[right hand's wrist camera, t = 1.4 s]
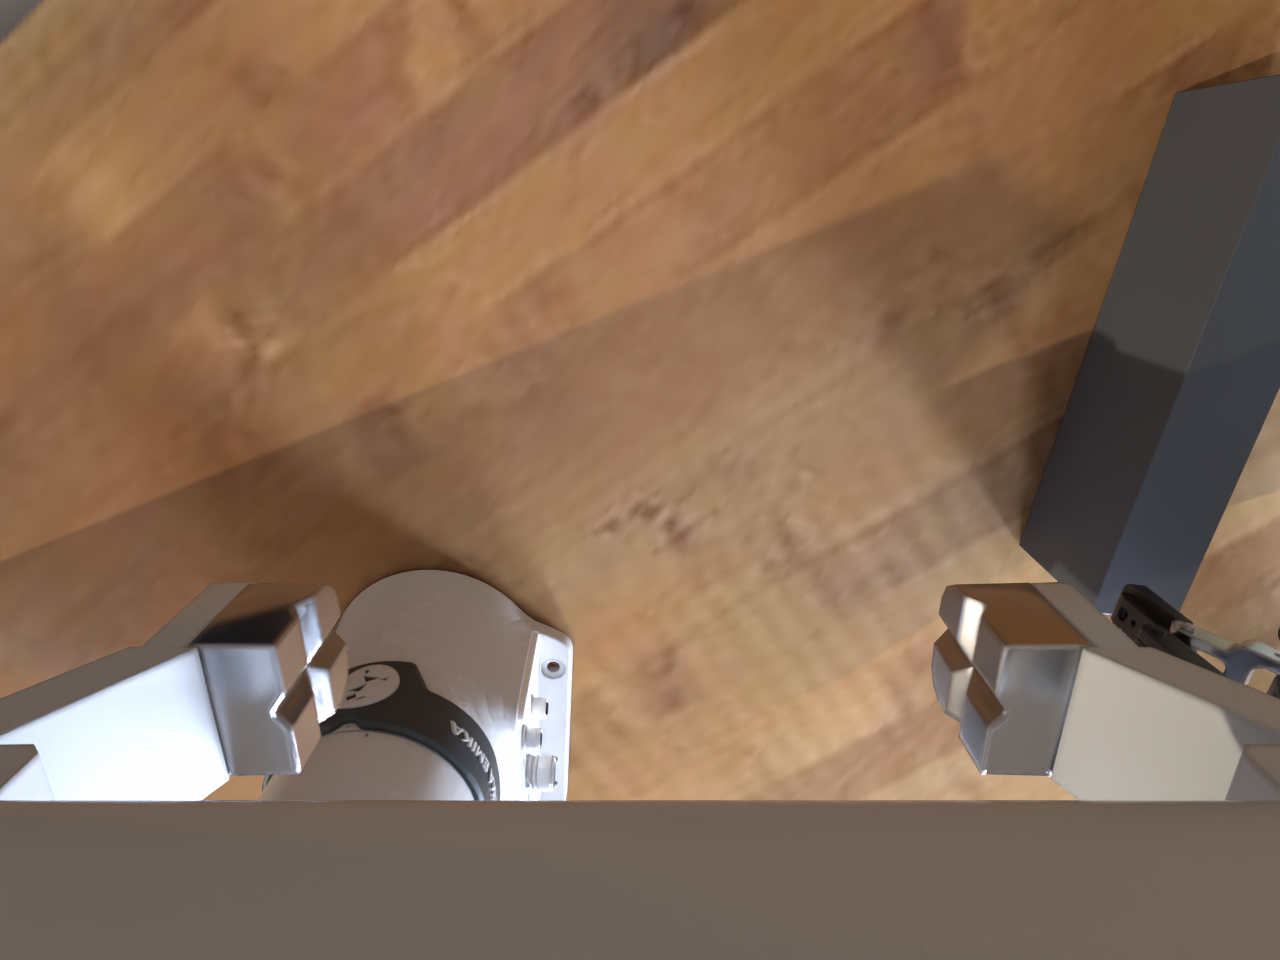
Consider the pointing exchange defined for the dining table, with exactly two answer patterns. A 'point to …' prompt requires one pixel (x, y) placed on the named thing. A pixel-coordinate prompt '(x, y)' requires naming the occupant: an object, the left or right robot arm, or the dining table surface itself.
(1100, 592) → the bar
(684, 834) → the right robot arm
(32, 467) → the dining table surface
